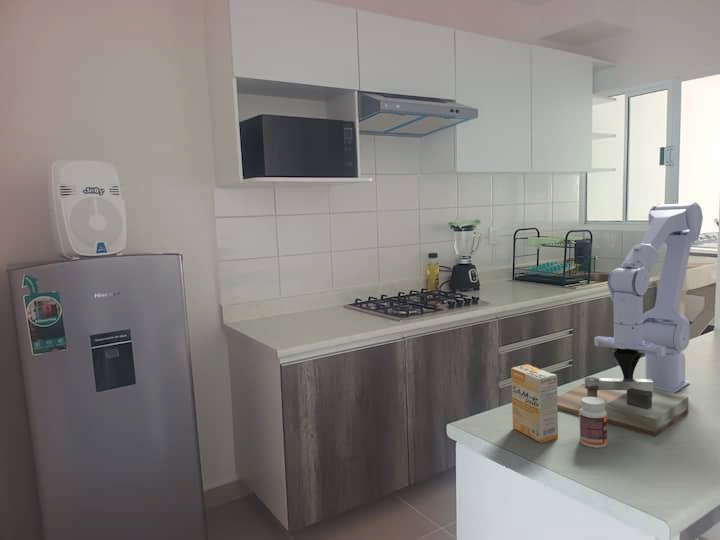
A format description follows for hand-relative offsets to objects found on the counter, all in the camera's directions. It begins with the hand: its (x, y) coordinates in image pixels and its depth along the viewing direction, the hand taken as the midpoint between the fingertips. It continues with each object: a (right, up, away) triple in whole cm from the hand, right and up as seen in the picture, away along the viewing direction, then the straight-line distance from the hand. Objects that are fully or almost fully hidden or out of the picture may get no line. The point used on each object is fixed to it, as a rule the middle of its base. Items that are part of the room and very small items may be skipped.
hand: (628, 382), depth 114 cm
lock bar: (-3, -1, -1) cm, 3 cm away
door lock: (-4, -5, -2) cm, 7 cm away
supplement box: (-25, -8, -11) cm, 28 cm away
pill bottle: (-16, -8, -17) cm, 24 cm away
